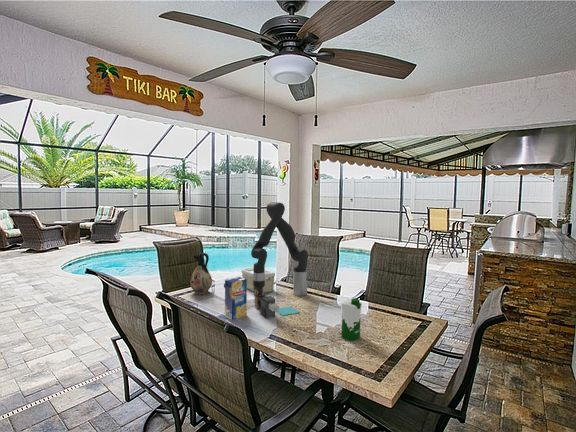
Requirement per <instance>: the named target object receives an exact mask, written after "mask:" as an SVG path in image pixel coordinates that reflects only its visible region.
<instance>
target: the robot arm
mask: <svg viewBox="0 0 576 432" xmlns="http://www.w3.org/2000/svg"><path fill="white" fill-rule="evenodd" d="M285 211H286V209H285V204H284V203H283V202H279V201H277V202H275V201H274V202H273V201H272V202H269V203H267V204H266V213H267V215H268V216H269V218H270V221H269V222H268V223H267V225H265V226H264V228H263V229H262V230H261V233H260V235H259V237H258V240H257V241H256V242H255V244H254V246H253V247H252V248H251V252H250V255H251V257H252V258H253V259H256V260H257V262H254V264H253V267H254V271H253V272H252V273H253V286H254V292H253V296H254V298H255V297H257V296H258V298H259V307H261V297H266V296H265V294H266V292H263V287H264V286H265V269H266V268H265V267H266V263H267V259H268V252H267V250H266V249H265V248H264V247H268V246H269V243H270V241H271V239H272V236H273V234H274V232H275V229H277V230H278V232H279V234H280V236H281V238H282V239H283V241H284V243H285V246H286V247H287V249H288V252H289V254H290V257H291V258H292V260H293V261H295V262H298V264H297V265H295V266H293V270H292V271H293V274H292V276H293V277H292V278H293V282H292V283H293V284H292V285H293V286H292V287H293V288H292V290H293V291H292V294H293V296H296V297H303V296H306V295H307V294H308V281H307V268H308V263H309V262H308V258H309V255H308V251H307V250H306V249H303V248H298V246H297V244H296V243H295V241H296V233H295V231H294V229H293V228H292V226H291V225H290V223H288V221H286V220H285V219H284V218H283V216H284V214H285Z"/></svg>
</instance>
